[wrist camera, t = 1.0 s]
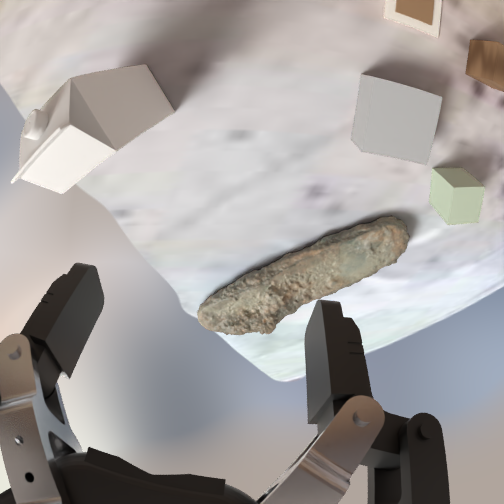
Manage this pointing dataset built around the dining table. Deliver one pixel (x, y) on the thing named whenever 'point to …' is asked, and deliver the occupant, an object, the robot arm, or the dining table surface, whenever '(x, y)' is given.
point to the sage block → (456, 195)
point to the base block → (395, 120)
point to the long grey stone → (304, 277)
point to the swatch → (415, 14)
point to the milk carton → (88, 124)
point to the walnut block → (486, 63)
